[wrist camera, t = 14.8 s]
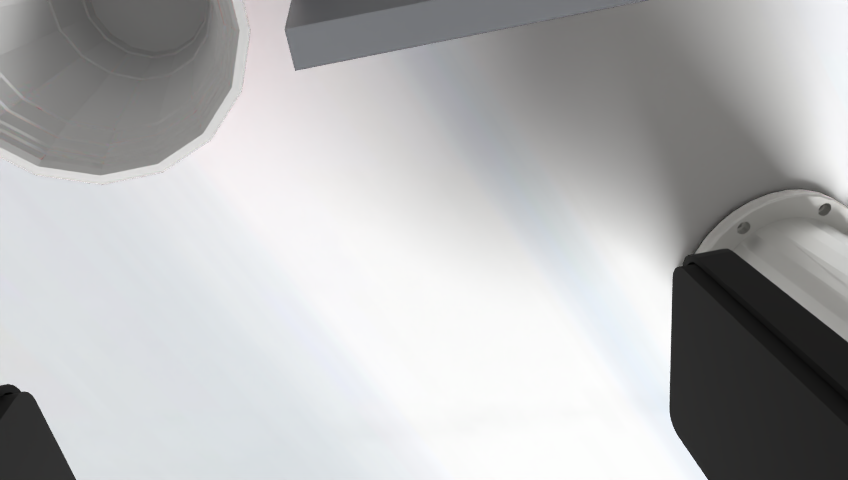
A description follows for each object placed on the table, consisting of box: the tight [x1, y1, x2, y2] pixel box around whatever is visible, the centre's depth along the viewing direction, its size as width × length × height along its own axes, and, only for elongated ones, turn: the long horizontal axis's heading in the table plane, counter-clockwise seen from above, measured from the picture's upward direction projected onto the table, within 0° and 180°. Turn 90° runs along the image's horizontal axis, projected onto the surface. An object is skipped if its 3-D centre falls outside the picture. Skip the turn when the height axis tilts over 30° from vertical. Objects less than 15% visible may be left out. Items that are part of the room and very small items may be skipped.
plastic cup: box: [0, 0, 250, 185], centre depth 26 cm, size 11×11×12 cm
